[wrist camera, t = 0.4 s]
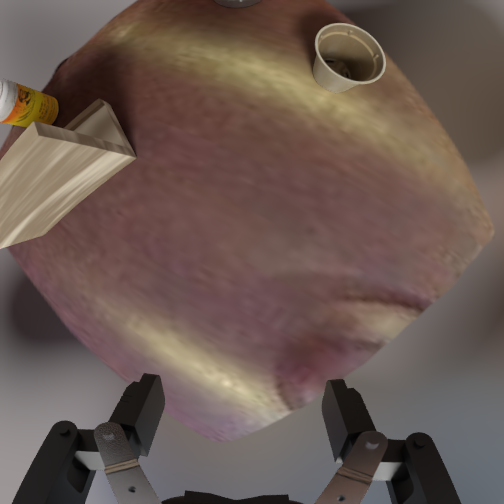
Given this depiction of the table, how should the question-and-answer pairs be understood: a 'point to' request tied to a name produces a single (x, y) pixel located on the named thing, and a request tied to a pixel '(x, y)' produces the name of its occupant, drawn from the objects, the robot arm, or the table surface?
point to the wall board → (58, 170)
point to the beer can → (25, 105)
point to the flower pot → (346, 57)
